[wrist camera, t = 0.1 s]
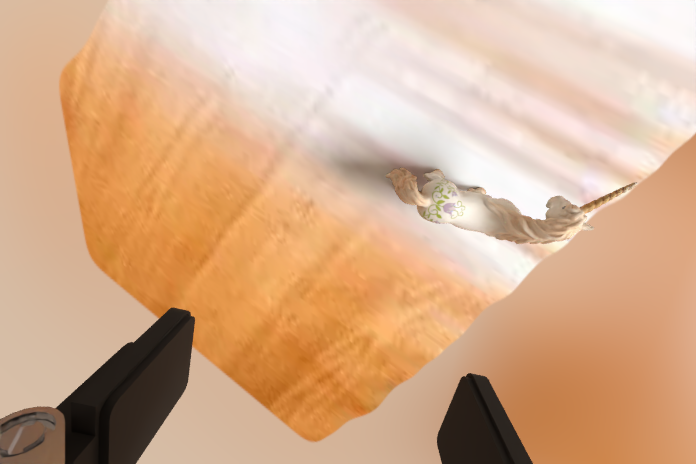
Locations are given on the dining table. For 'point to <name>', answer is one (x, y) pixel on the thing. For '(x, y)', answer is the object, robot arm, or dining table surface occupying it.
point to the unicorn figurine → (493, 210)
